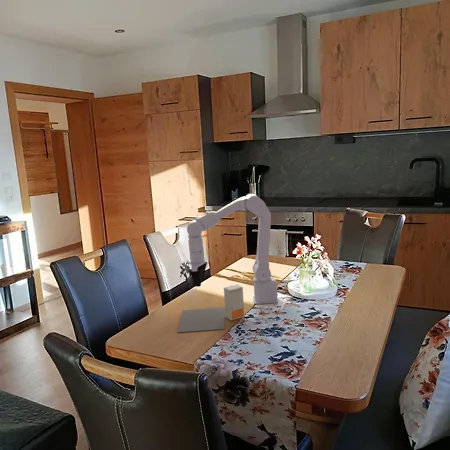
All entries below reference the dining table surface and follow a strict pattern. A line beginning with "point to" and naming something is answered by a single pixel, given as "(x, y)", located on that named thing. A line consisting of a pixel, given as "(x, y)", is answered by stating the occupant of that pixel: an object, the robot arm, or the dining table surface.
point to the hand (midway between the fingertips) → (199, 283)
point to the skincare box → (234, 302)
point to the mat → (202, 320)
